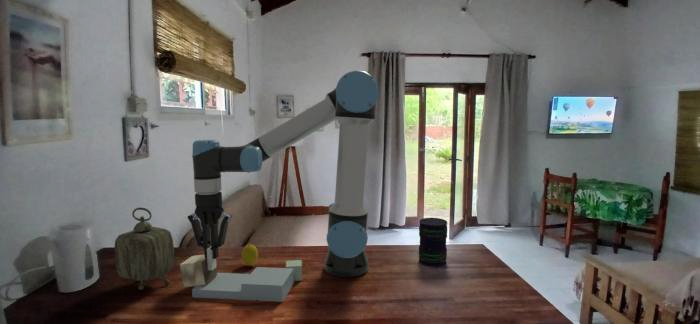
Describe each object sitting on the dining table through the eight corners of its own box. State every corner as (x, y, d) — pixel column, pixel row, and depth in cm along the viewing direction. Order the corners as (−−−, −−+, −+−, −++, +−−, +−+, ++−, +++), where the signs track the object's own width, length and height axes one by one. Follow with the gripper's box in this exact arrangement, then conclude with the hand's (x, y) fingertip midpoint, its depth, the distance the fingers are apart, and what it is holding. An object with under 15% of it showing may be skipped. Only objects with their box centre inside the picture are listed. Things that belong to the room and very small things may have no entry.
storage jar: (450, 260, 134) (451, 219, 132) (441, 269, 126) (442, 226, 124) (424, 254, 139) (424, 216, 138) (414, 263, 131) (414, 222, 129)
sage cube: (301, 274, 123) (301, 259, 122) (302, 280, 118) (301, 265, 118) (286, 275, 122) (286, 260, 122) (286, 281, 117) (285, 266, 117)
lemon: (254, 269, 127) (253, 247, 126) (239, 268, 128) (238, 246, 127) (261, 263, 132) (260, 241, 131) (246, 262, 133) (245, 241, 132)
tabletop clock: (176, 283, 117) (171, 205, 114) (154, 296, 108) (148, 213, 105) (139, 278, 121) (133, 203, 118) (114, 290, 112) (108, 210, 109)
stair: (294, 283, 116) (293, 268, 116) (282, 301, 104) (282, 285, 104) (212, 279, 119) (211, 265, 119) (192, 297, 107) (191, 281, 107)
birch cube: (213, 253, 115) (192, 255, 116) (201, 262, 108) (179, 264, 109) (217, 275, 116) (196, 277, 117) (206, 284, 109) (184, 287, 110)
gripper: (234, 190, 112) (237, 264, 115) (194, 189, 114) (198, 263, 117) (223, 195, 105) (227, 274, 108) (180, 194, 107) (185, 272, 109)
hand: (212, 268), depth 112 cm, fingers closed
